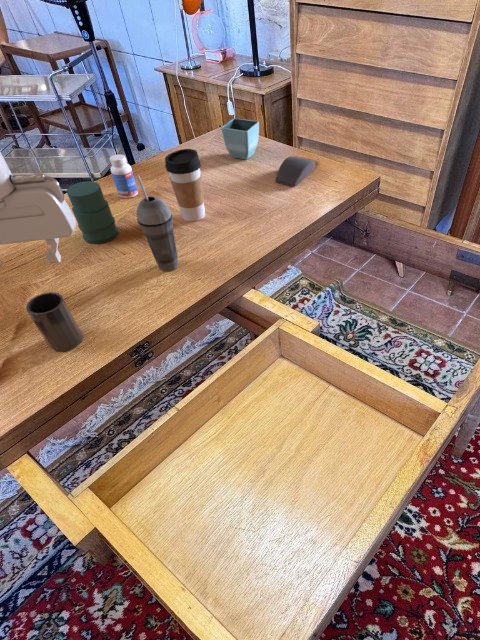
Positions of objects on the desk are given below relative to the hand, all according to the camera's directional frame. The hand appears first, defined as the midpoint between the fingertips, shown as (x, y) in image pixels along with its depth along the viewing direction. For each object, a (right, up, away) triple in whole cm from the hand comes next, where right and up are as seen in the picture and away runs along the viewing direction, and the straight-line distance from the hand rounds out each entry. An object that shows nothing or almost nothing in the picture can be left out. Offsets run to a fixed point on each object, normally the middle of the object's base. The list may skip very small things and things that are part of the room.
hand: (26, 264), depth 73 cm
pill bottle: (-3, +35, +51) cm, 62 cm away
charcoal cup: (0, -11, +12) cm, 17 cm away
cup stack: (-4, +19, +37) cm, 42 cm away
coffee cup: (+17, +26, +43) cm, 53 cm away
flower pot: (+27, +54, +66) cm, 90 cm away
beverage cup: (+15, +8, +28) cm, 33 cm away
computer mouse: (+44, +43, +57) cm, 84 cm away
